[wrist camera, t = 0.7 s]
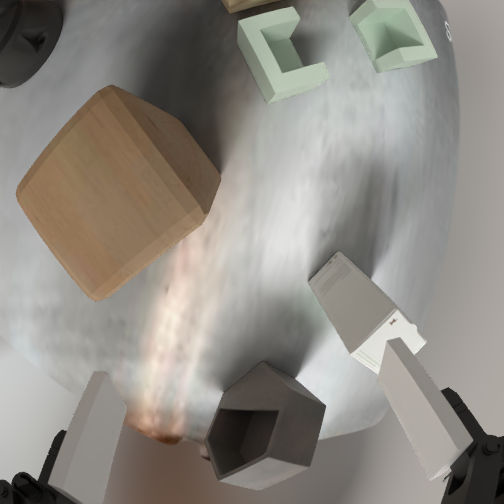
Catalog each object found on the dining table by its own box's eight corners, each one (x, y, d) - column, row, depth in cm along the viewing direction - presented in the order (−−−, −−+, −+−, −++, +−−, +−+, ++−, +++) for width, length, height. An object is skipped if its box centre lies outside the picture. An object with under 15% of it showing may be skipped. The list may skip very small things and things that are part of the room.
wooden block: (176, 114, 30) (107, 74, 11) (225, 179, 33) (215, 218, 14) (114, 166, 31) (6, 194, 13) (161, 227, 34) (94, 312, 16)
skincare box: (306, 281, 38) (344, 354, 24) (340, 246, 37) (397, 304, 22) (342, 312, 41) (385, 383, 26) (373, 281, 39) (430, 343, 25)
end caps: (266, 105, 30) (275, 93, 24) (236, 43, 27) (238, 20, 21) (408, 67, 28) (437, 57, 22) (382, 14, 25) (406, -4, 19)
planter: (299, 352, 37) (254, 495, 23) (333, 372, 39) (298, 501, 25) (233, 366, 49) (192, 468, 35) (264, 383, 51) (230, 479, 37)
